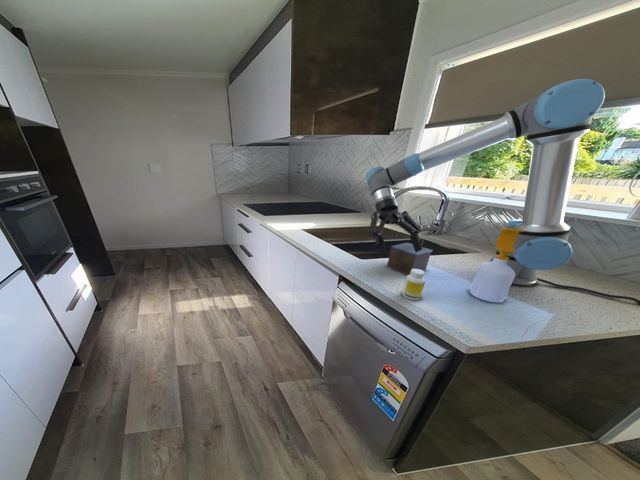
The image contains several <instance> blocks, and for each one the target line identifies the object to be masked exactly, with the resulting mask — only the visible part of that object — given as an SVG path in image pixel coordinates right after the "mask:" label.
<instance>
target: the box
mask: <svg viewBox="0 0 640 480" xmlns="http://www.w3.org/2000/svg"><path fill="white" fill-rule="evenodd" d="M431 254H432V252H429V253H426V254H423V255H419V256H414V255H411V254H409V253H406V252H403V251H400V250H397V249H394V248H391V247H390V251H389V255H388V261H387V264H386V267H388V268H390V269H393V270H395V271H398V272H400V273H402V274H404V275H406V276H408V275H410V272H411V269H420V270H423V271H424V272H425V271H427V268H428V265H429V260H430V257H431Z"/></svg>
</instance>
